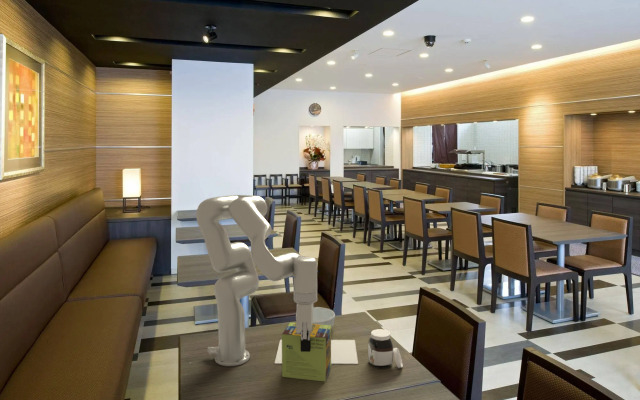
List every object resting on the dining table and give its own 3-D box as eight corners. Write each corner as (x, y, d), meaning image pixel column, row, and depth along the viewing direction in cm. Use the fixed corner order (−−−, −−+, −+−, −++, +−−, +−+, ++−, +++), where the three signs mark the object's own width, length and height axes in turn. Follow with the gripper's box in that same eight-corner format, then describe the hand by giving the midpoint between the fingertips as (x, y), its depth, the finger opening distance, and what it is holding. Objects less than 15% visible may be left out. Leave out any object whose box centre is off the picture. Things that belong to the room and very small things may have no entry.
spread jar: (365, 358, 169) (365, 328, 168) (394, 355, 172) (394, 325, 170) (377, 374, 158) (377, 342, 156) (407, 370, 160) (408, 338, 159)
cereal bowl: (293, 323, 203) (293, 308, 202) (330, 321, 206) (330, 305, 205) (298, 339, 186) (298, 322, 185) (339, 336, 189) (339, 319, 188)
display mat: (274, 363, 165) (274, 363, 165) (280, 340, 185) (280, 339, 185) (358, 364, 165) (358, 363, 165) (354, 340, 185) (354, 339, 185)
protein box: (326, 382, 152) (326, 337, 150) (281, 377, 156) (280, 333, 153) (331, 366, 163) (331, 324, 160) (289, 362, 166) (289, 321, 163)
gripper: (295, 288, 154) (295, 340, 156) (291, 303, 139) (292, 361, 142) (317, 288, 154) (317, 340, 156) (316, 304, 139) (316, 361, 142)
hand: (305, 350), depth 149 cm, fingers closed
